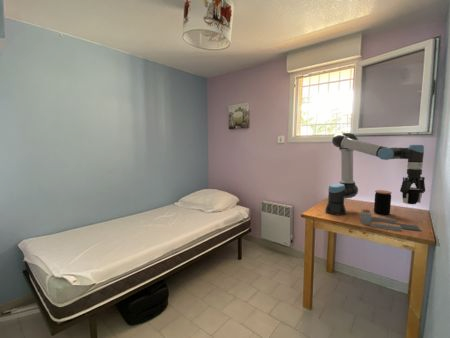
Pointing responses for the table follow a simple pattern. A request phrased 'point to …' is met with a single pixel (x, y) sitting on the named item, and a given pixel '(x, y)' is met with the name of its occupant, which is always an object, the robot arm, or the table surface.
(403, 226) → the pad
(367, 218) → the housing
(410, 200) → the mug
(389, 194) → the coffee jar
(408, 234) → the table surface
